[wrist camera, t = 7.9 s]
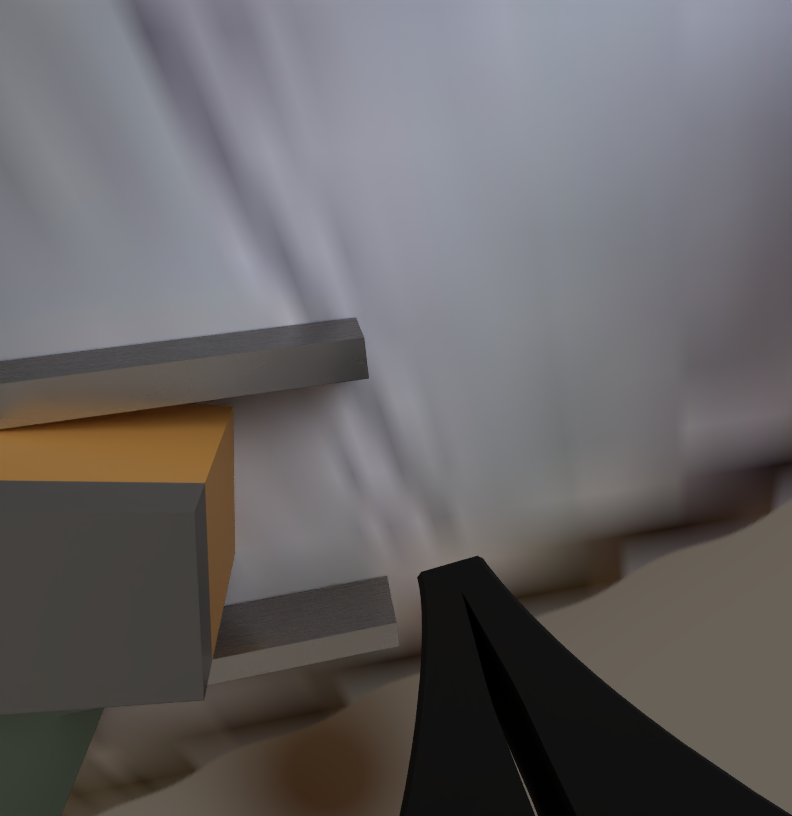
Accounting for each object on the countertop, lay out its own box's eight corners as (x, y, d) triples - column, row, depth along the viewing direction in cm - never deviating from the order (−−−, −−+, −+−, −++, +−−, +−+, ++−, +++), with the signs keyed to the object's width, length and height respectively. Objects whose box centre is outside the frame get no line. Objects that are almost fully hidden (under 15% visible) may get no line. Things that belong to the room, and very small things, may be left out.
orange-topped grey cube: (233, 405, 13) (194, 512, 9) (235, 550, 15) (203, 700, 11) (29, 396, 12) (-133, 512, 8) (58, 553, 14) (-58, 718, 10)
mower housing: (346, 238, 12) (370, 264, 7) (394, 638, 18) (424, 789, 13) (-413, 316, 10) (-996, 413, 6) (-84, 735, 16) (-239, 949, 11)
